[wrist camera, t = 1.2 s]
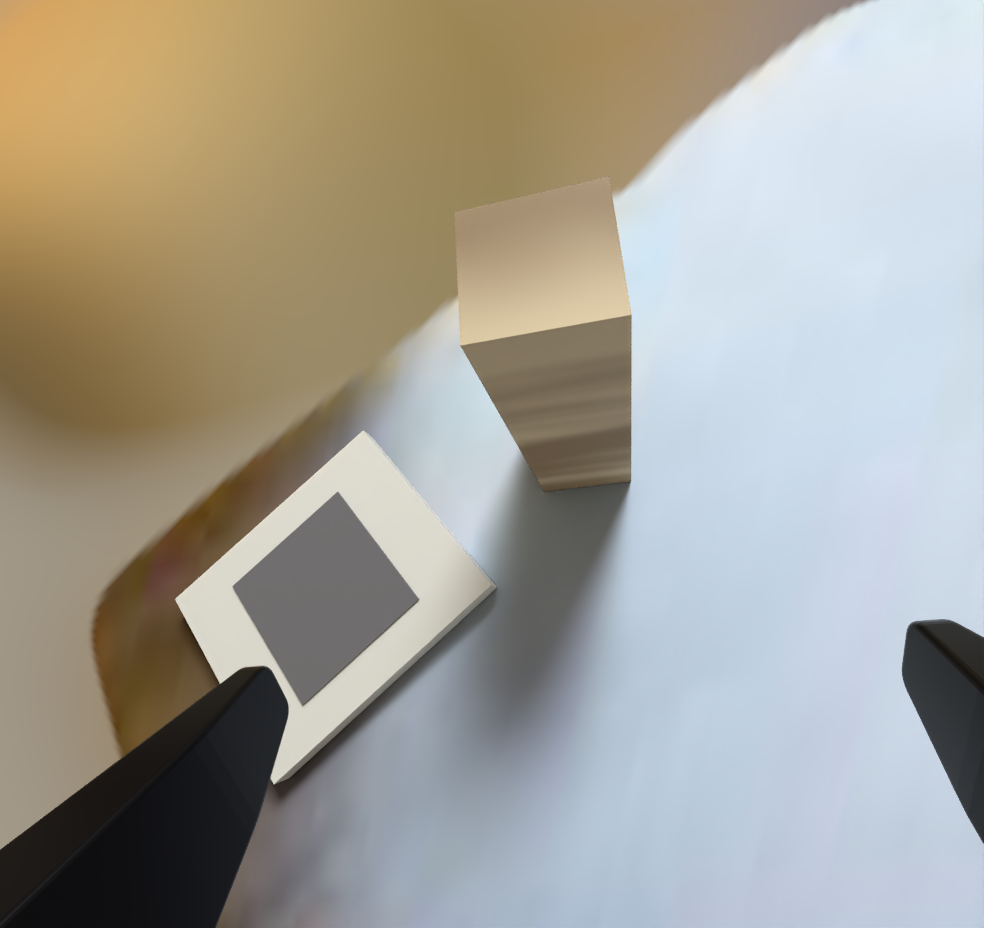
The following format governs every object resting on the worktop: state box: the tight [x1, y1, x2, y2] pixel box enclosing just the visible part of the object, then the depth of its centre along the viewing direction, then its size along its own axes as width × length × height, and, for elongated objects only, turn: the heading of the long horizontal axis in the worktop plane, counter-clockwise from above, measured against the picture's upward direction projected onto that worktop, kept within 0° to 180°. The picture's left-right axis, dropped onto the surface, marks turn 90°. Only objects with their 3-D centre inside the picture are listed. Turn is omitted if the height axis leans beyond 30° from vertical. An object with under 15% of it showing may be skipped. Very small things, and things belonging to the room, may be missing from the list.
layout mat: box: [175, 431, 497, 784], centre depth 23 cm, size 11×9×1 cm
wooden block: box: [455, 177, 631, 492], centre depth 17 cm, size 4×4×12 cm
